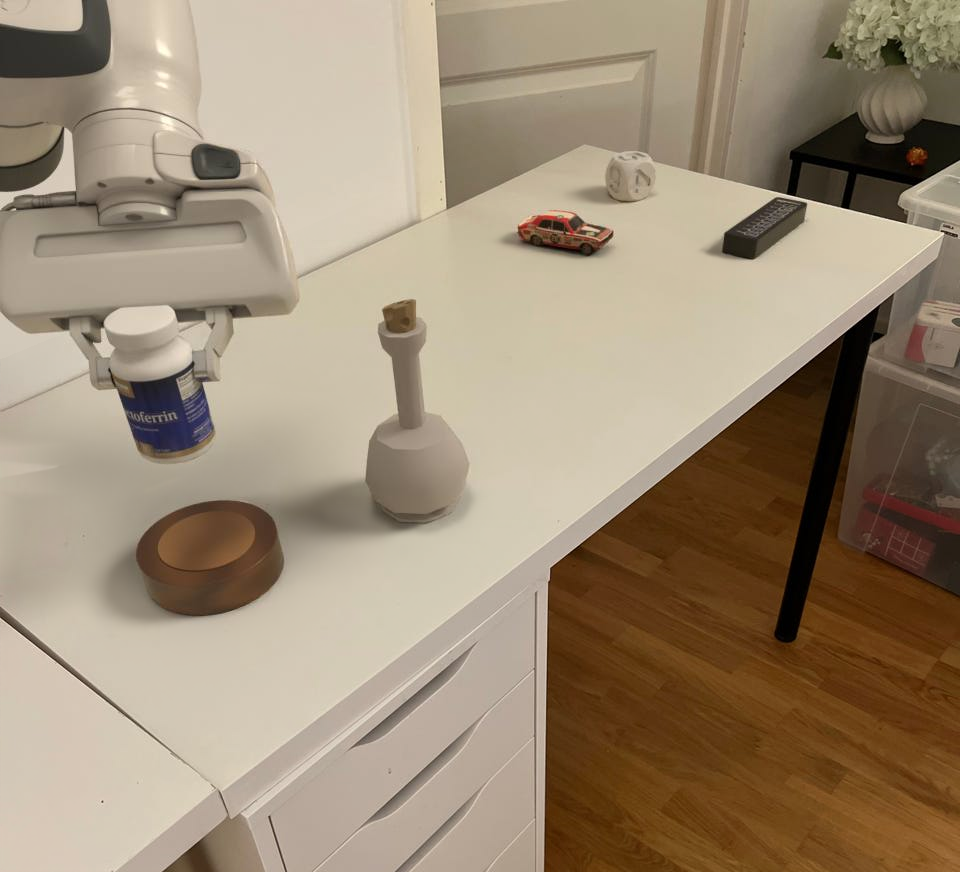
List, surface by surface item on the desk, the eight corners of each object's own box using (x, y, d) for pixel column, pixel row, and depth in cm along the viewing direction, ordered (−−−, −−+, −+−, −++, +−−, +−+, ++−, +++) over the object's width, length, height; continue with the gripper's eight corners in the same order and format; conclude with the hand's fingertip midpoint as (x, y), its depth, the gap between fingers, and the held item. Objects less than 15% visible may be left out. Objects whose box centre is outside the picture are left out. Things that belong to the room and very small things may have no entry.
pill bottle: (124, 463, 70) (77, 333, 63) (161, 422, 74) (121, 295, 67) (197, 470, 68) (157, 339, 62) (230, 428, 72) (196, 300, 66)
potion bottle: (414, 543, 79) (390, 337, 67) (350, 499, 84) (316, 300, 72) (492, 498, 83) (483, 296, 71) (426, 459, 88) (406, 264, 76)
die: (655, 196, 133) (657, 157, 130) (626, 204, 132) (628, 165, 128) (632, 186, 137) (634, 148, 133) (603, 194, 135) (605, 156, 131)
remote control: (720, 252, 119) (722, 233, 117) (773, 214, 127) (776, 196, 125) (753, 259, 117) (756, 240, 115) (805, 220, 125) (808, 202, 123)
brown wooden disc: (148, 628, 73) (136, 597, 71) (144, 544, 81) (134, 514, 79) (292, 598, 75) (285, 567, 73) (275, 518, 83) (268, 488, 81)
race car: (539, 242, 128) (534, 205, 125) (618, 244, 121) (614, 205, 118) (518, 255, 125) (512, 218, 122) (597, 258, 118) (593, 219, 115)
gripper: (-30, 174, 64) (-17, 381, 64) (278, 152, 64) (294, 358, 64) (15, 218, 70) (27, 407, 70) (296, 198, 70) (310, 385, 70)
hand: (157, 383), depth 67 cm, fingers closed on pill bottle, 6 cm apart
